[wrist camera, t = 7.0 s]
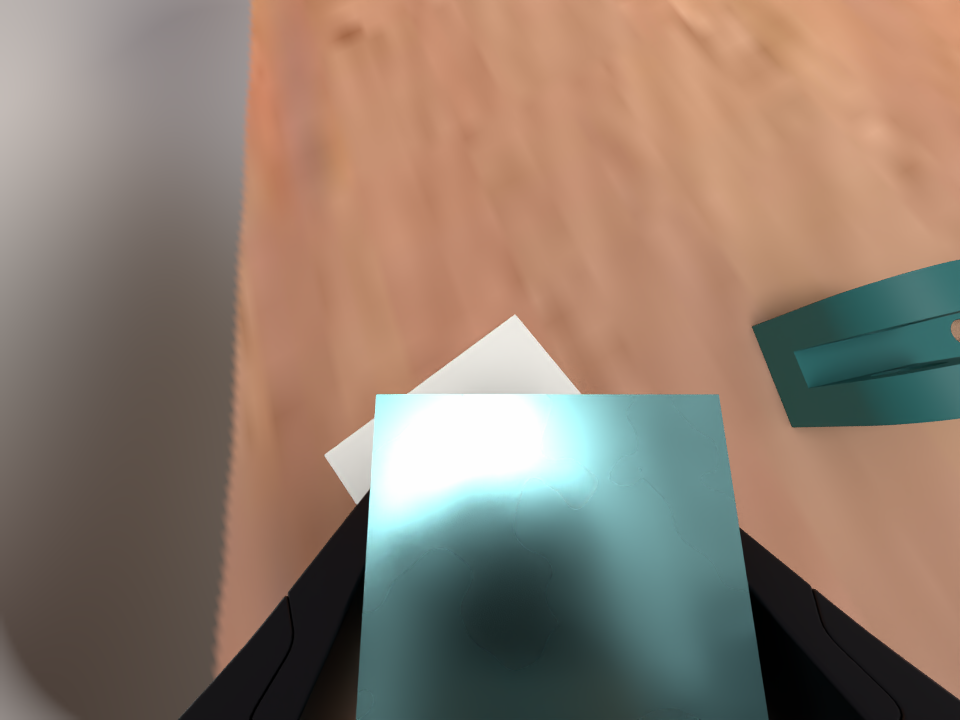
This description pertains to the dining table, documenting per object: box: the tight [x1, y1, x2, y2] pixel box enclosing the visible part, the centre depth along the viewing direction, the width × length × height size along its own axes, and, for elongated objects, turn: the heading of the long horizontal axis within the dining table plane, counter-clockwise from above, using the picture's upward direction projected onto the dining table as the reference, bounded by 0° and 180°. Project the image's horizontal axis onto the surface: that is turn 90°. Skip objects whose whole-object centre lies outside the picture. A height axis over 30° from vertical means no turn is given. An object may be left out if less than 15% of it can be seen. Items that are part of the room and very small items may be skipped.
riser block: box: [324, 315, 581, 504], centre depth 20 cm, size 13×13×3 cm
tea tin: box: [356, 394, 769, 720], centre depth 10 cm, size 6×6×10 cm
